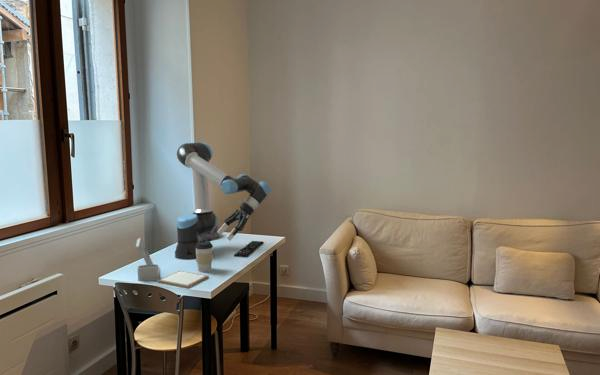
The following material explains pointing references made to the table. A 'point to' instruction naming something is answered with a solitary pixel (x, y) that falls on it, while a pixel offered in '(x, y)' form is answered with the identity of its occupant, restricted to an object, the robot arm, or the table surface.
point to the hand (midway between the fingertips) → (223, 236)
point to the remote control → (248, 249)
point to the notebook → (183, 279)
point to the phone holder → (147, 270)
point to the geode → (208, 235)
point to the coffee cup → (204, 256)
